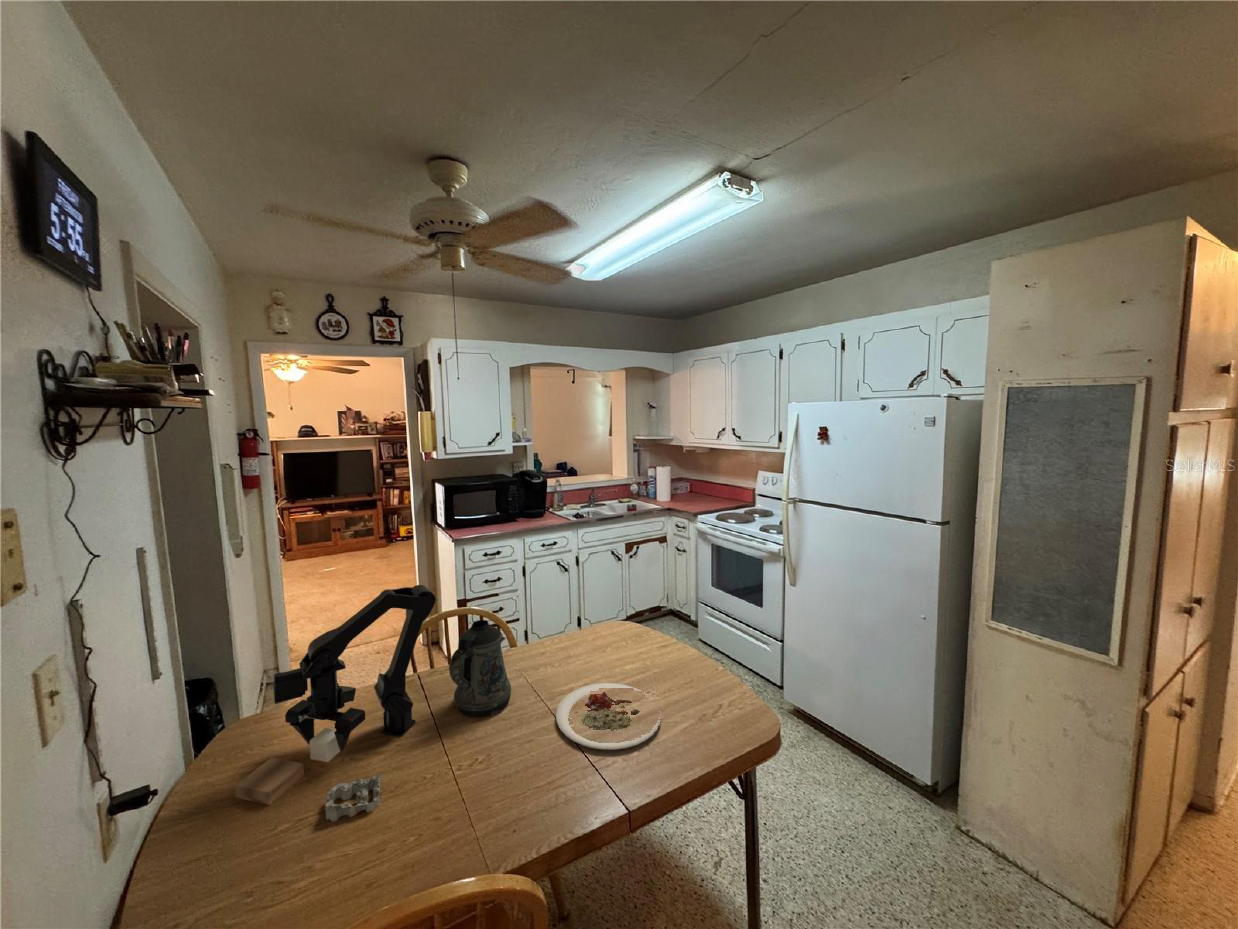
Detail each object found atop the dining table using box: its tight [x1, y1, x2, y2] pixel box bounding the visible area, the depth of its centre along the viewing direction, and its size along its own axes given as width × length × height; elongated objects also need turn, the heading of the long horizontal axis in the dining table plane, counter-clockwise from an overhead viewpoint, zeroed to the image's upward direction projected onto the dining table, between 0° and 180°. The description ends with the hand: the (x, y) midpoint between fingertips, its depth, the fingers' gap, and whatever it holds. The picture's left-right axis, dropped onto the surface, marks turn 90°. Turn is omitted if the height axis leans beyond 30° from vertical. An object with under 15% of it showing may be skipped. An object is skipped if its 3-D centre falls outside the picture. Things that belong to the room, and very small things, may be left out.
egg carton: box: [324, 773, 381, 822], centre depth 107 cm, size 11×8×4 cm
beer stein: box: [448, 619, 512, 719], centre depth 143 cm, size 16×19×25 cm
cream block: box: [309, 727, 341, 763], centre depth 123 cm, size 5×5×5 cm
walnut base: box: [235, 757, 305, 806], centre depth 112 cm, size 9×9×3 cm
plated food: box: [555, 682, 662, 751], centre depth 140 cm, size 30×30×3 cm
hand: (326, 747), depth 123 cm, fingers open, 9 cm apart
